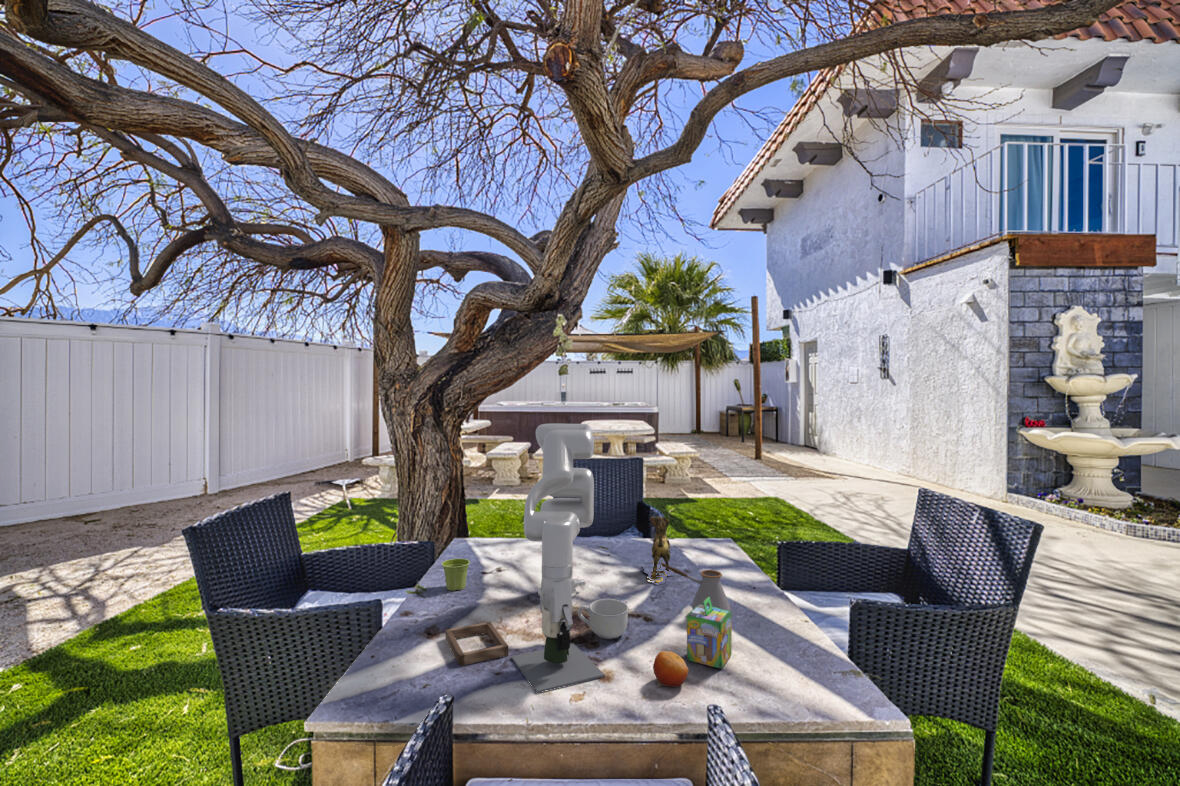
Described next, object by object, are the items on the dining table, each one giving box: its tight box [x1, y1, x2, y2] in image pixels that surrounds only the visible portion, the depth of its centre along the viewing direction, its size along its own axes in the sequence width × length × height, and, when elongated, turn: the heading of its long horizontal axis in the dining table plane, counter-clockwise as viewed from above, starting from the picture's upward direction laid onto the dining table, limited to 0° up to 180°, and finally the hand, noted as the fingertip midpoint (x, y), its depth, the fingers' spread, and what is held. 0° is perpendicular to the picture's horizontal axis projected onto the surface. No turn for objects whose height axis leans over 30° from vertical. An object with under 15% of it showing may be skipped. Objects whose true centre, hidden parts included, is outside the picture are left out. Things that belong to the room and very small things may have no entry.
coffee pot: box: [659, 562, 731, 611], centre depth 169 cm, size 21×12×15 cm, turn 79°
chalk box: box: [686, 596, 733, 670], centre depth 142 cm, size 9×9×15 cm
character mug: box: [541, 606, 569, 664], centre depth 137 cm, size 11×7×13 cm, turn 160°
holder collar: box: [445, 621, 509, 667], centre depth 147 cm, size 12×16×2 cm
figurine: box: [647, 515, 671, 583], centre depth 207 cm, size 13×25×20 cm, turn 171°
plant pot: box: [441, 558, 471, 592], centre depth 191 cm, size 9×9×9 cm
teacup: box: [577, 598, 629, 640], centre depth 156 cm, size 14×11×8 cm
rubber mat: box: [511, 642, 605, 694], centre depth 137 cm, size 17×18×1 cm
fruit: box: [652, 650, 689, 688], centre depth 130 cm, size 8×8×8 cm
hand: (556, 641), depth 137 cm, fingers closed on character mug, 7 cm apart
